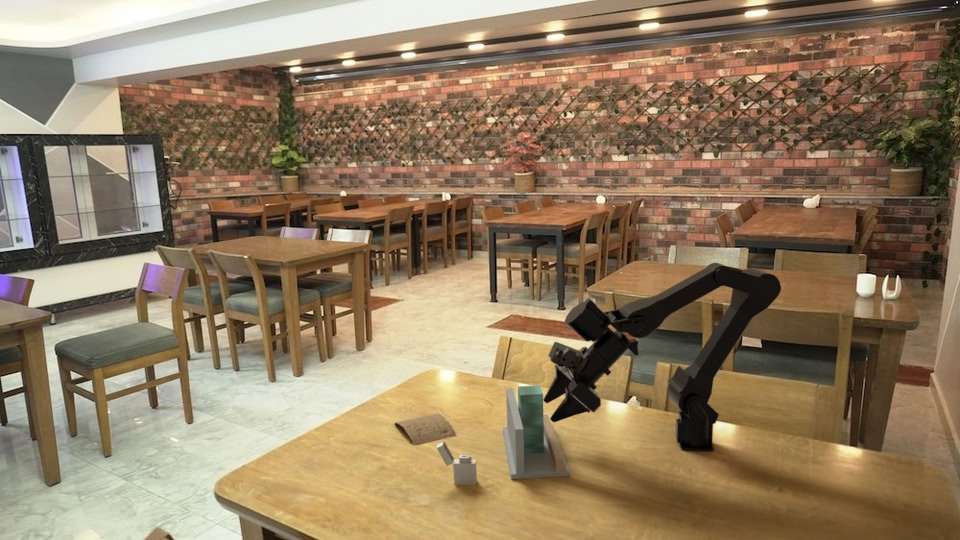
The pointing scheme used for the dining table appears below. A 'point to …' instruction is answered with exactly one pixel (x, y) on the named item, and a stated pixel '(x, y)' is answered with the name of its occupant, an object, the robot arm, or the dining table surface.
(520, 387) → the teal block
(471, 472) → the lighter
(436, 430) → the curved bark piece
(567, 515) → the dining table surface
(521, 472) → the grey bookend
